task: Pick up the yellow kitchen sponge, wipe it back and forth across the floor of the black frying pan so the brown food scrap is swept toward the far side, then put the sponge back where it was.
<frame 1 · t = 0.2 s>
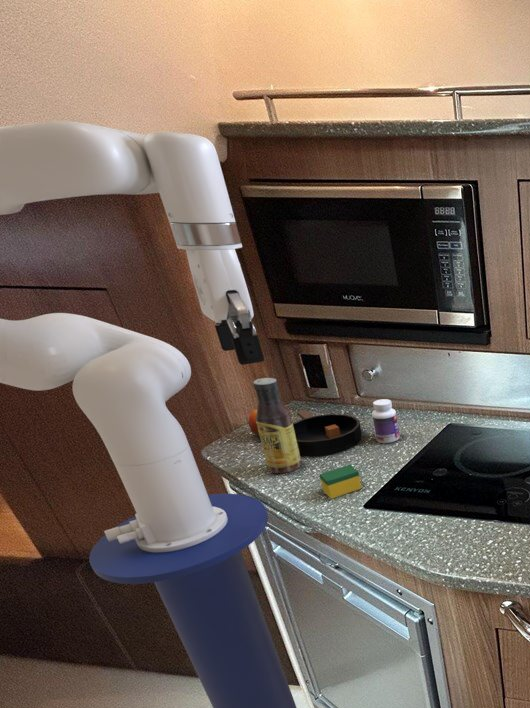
hand: (243, 355, 78), 31 cm above the worktop, tool pointing down, fingers open, 9 cm apart
sponge: (342, 489, 101), on the worktop
fruit: (272, 435, 122), on the worktop
sauce bottle: (287, 468, 108), on the worktop
pill bottle: (388, 439, 122), on the worktop
pan: (325, 441, 120), on the worktop
scrap: (333, 436, 121), point 1 cm above the worktop, touching pan
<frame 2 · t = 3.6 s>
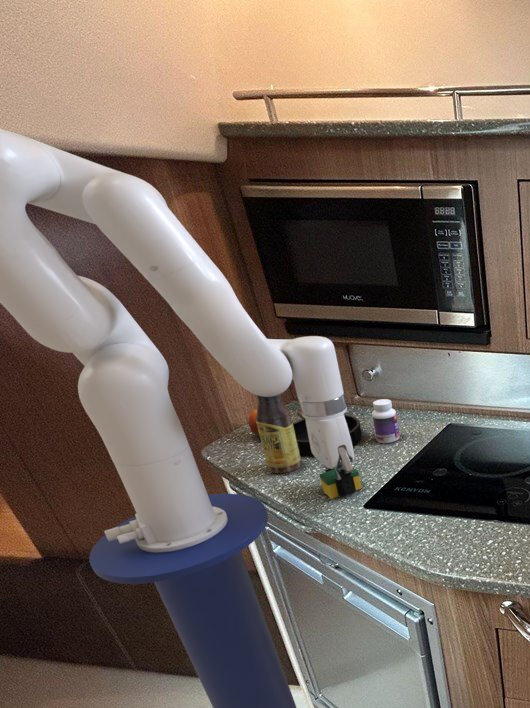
hand: (342, 488, 100), 0 cm above the worktop, tool pointing down, fingers closed on sponge, 4 cm apart
sponge: (342, 489, 101), on the worktop, touching gripper
everything else where it was.
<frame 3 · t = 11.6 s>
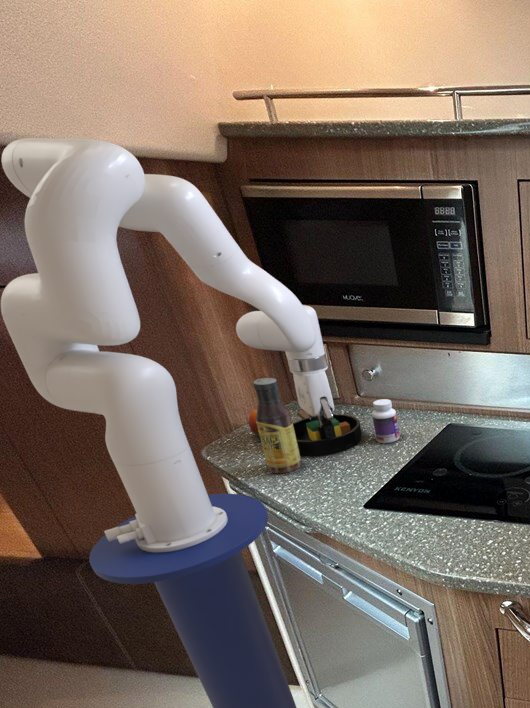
hand: (325, 436, 119), 1 cm above the worktop, tool pointing down, fingers closed on sponge, 4 cm apart
sponge: (325, 437, 119), point 1 cm above the worktop, touching gripper
scrap: (344, 433, 122), point 1 cm above the worktop, touching pan
everything else where it was.
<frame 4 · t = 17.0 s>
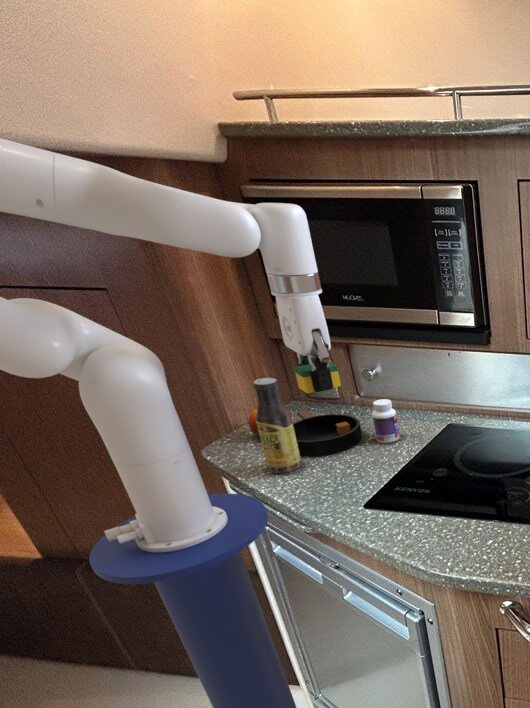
hand: (318, 385, 92), 22 cm above the worktop, tool pointing down, fingers closed on sponge, 4 cm apart
sponge: (320, 387, 93), point 21 cm above the worktop, touching gripper
everything else where it was.
when the fingers open (0 cm above the worktop, at t = 21.4 s): sponge stays where it is, on the worktop.
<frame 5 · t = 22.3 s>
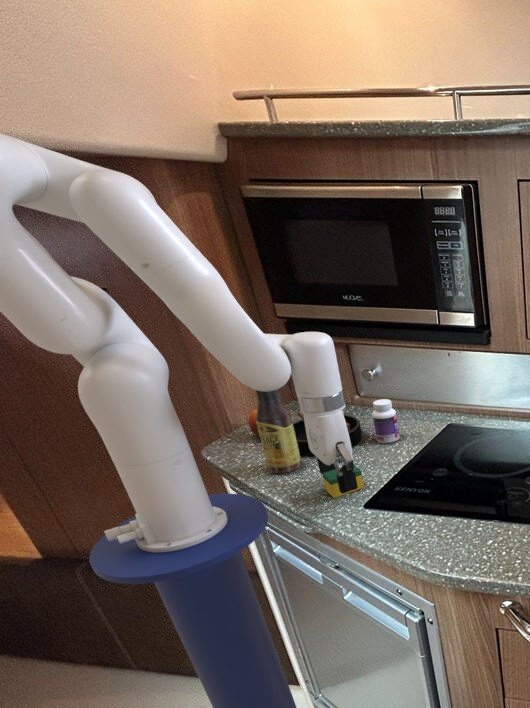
hand: (338, 481, 99), 2 cm above the worktop, tool pointing down, fingers open, 9 cm apart
sponge: (345, 489, 101), on the worktop
everything else where it was.
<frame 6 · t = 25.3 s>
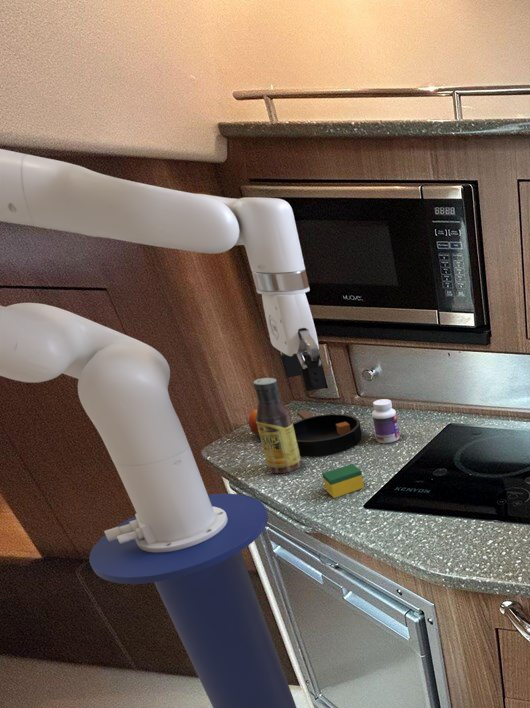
hand: (305, 382, 89), 23 cm above the worktop, tool pointing down, fingers open, 9 cm apart
nothing on the worktop moved.
at the end: scrap 0.3 cm from the target spot on the pan, point 0.8 cm above the pan's base; sponge inside the target area (0.5 cm from its centre), on the worktop; the gripper is holding nothing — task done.
